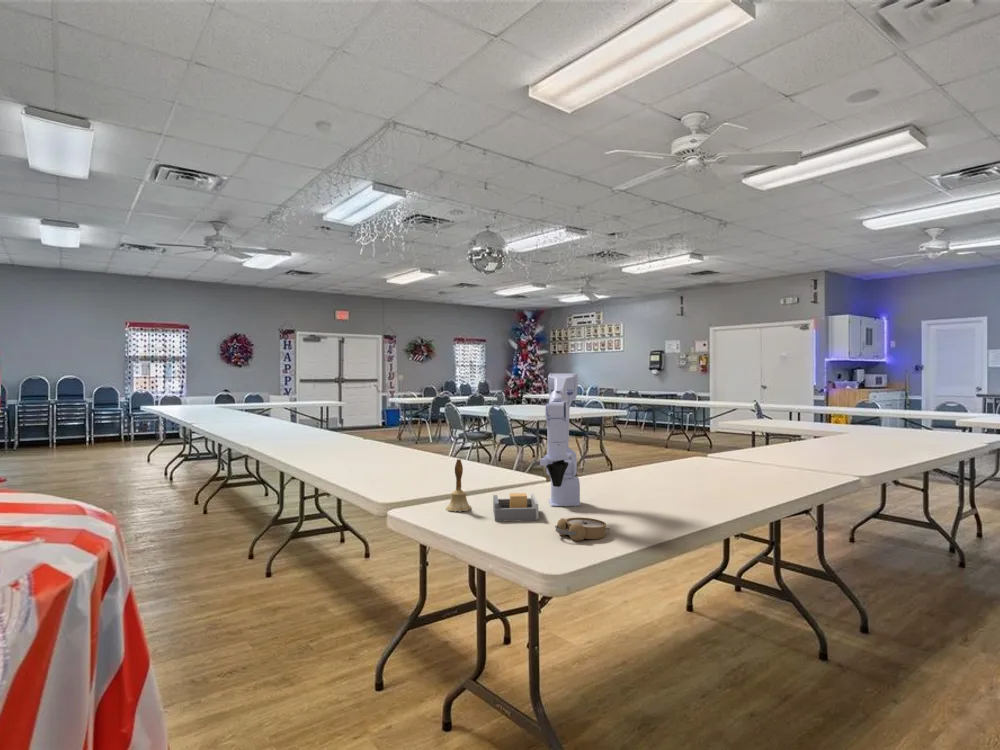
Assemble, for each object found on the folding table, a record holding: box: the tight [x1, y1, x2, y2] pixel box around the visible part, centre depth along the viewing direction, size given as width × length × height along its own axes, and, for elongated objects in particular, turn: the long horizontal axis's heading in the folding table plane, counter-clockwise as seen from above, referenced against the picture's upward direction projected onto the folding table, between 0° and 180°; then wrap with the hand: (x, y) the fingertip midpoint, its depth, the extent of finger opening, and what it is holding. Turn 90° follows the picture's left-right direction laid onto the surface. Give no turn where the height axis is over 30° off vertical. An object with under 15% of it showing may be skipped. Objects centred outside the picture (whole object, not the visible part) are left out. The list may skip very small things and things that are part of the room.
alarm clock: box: [554, 516, 611, 542], centre depth 153 cm, size 11×5×15 cm
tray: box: [499, 493, 539, 521], centre depth 174 cm, size 11×13×5 cm
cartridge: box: [509, 492, 528, 508], centre depth 174 cm, size 5×4×5 cm
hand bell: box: [445, 458, 473, 513], centre depth 182 cm, size 8×8×16 cm
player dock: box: [492, 494, 536, 522], centre depth 174 cm, size 12×13×5 cm
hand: (557, 486), depth 171 cm, fingers closed
